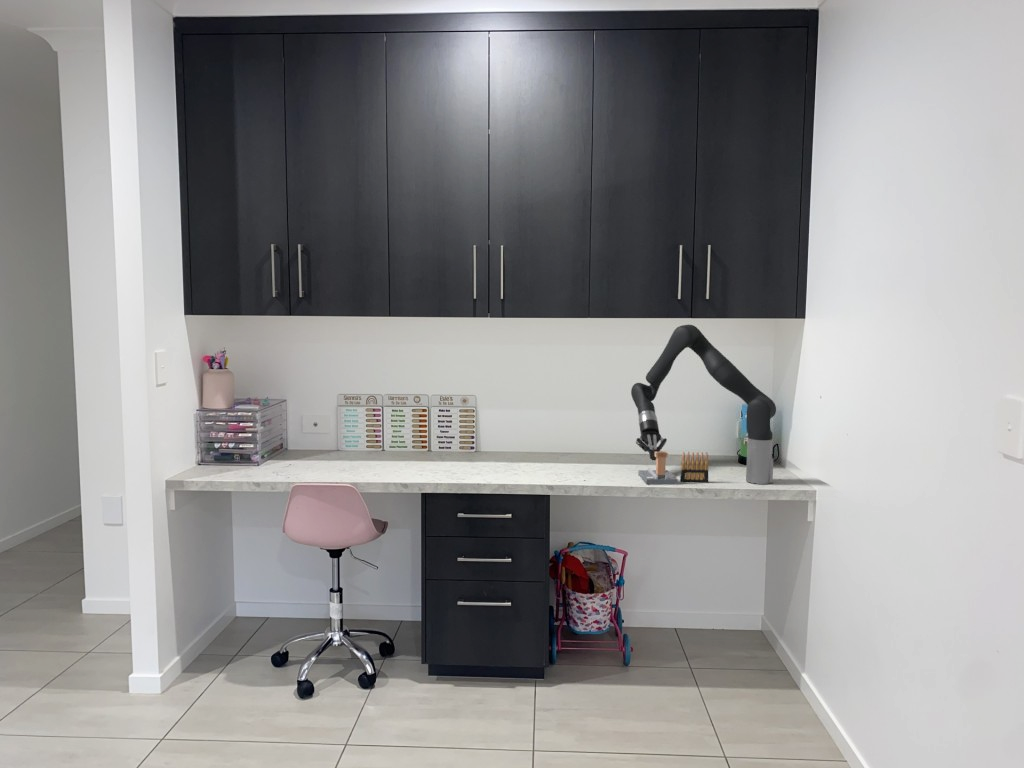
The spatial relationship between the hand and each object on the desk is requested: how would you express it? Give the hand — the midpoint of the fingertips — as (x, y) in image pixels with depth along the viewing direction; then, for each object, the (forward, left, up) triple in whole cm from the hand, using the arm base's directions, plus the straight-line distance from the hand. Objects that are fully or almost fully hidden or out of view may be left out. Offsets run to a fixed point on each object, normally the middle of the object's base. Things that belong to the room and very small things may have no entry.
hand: (654, 459), depth 319 cm
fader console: (0, +5, -7) cm, 9 cm away
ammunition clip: (-14, +9, -7) cm, 18 cm away
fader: (0, +10, -5) cm, 11 cm away
